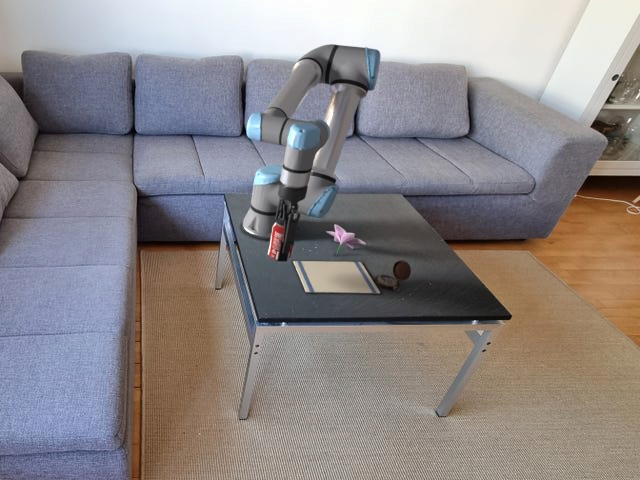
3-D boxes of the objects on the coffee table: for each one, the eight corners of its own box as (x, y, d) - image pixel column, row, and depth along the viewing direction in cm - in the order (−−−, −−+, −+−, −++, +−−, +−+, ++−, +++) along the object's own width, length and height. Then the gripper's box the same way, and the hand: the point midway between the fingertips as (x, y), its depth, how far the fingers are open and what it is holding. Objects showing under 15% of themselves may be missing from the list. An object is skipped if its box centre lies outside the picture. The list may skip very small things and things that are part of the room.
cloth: (293, 261, 144) (293, 260, 144) (360, 262, 144) (361, 261, 144) (306, 292, 131) (306, 291, 131) (380, 293, 131) (380, 292, 131)
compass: (371, 278, 137) (378, 259, 132) (392, 274, 139) (400, 255, 134) (388, 294, 130) (396, 274, 126) (410, 290, 132) (419, 270, 128)
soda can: (290, 264, 130) (298, 229, 123) (267, 261, 131) (273, 226, 124) (289, 252, 136) (297, 218, 129) (267, 249, 137) (273, 215, 130)
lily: (364, 262, 146) (373, 234, 144) (340, 256, 140) (350, 227, 139) (335, 254, 156) (344, 227, 155) (312, 248, 150) (321, 221, 149)
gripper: (318, 199, 111) (299, 273, 125) (298, 168, 127) (284, 236, 141) (288, 199, 111) (273, 272, 125) (272, 168, 127) (261, 236, 141)
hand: (279, 253), depth 133 cm, fingers closed on soda can, 7 cm apart
